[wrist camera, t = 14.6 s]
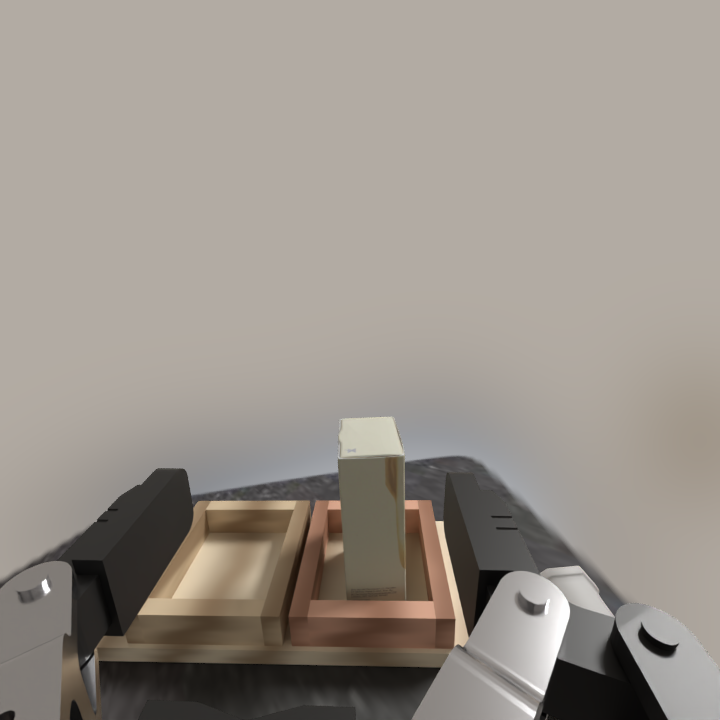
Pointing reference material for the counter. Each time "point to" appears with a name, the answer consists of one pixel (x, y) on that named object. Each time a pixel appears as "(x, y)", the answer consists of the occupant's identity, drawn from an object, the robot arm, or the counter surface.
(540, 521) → the counter surface
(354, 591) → the skincare box
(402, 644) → the two-compartment wooden tray
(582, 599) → the tube
